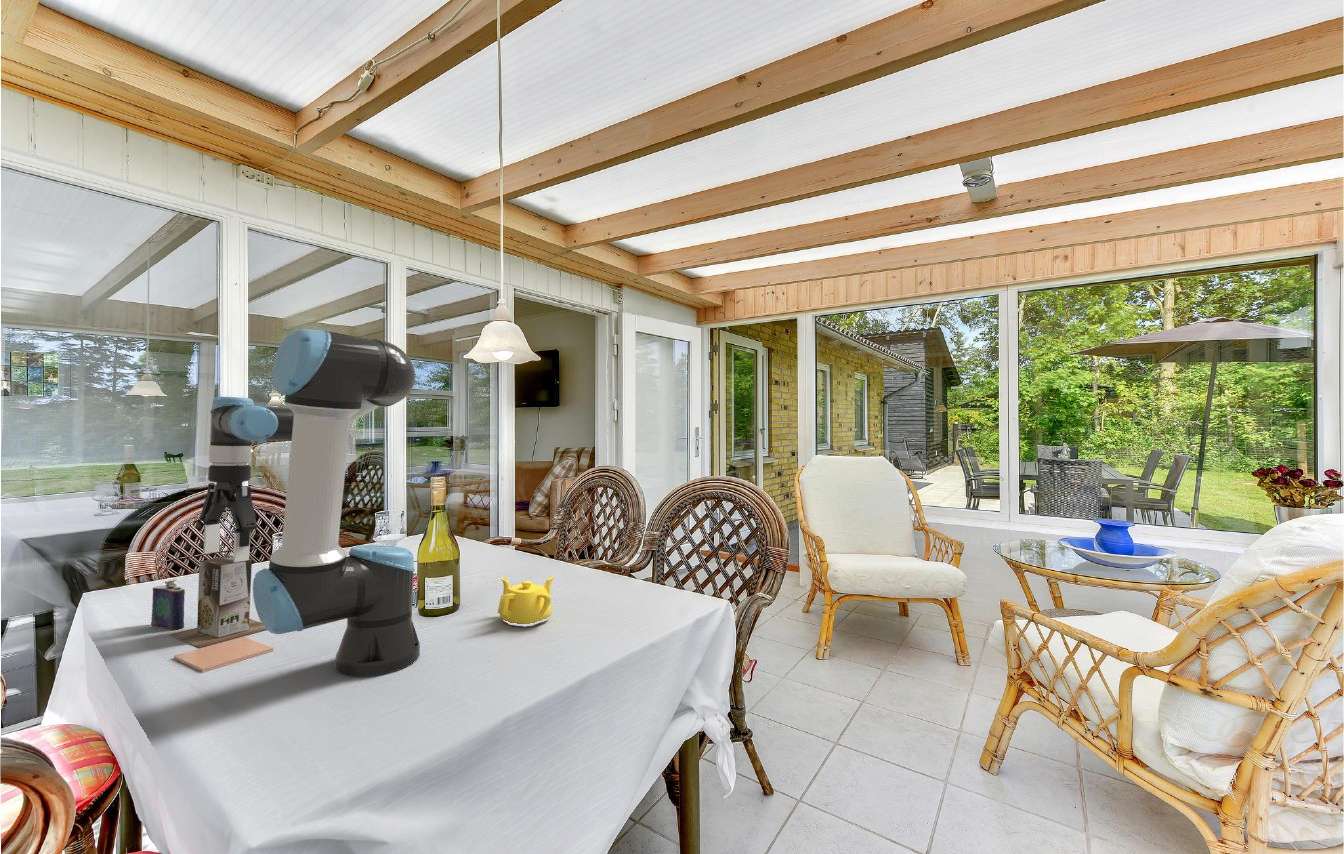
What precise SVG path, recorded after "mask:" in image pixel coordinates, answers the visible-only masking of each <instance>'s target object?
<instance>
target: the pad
mask: <svg viewBox="0 0 1344 854" xmlns="http://www.w3.org/2000/svg"><path fill="white" fill-rule="evenodd" d="M270 651H271V652H274V647H272V646H269V645H268V644H264V643H261V642H259V641H257V640H253V639H250V638H249V637H247V636H243V637H239V638H236V639H232V640H228V641H225V642H221V643H217V644H213V645H210V646H206V647H202V648H197V649H194V650H190V651H186V652H183V653H179V654H175V655H173V660H176V659H177V660H176V661H178V660H179V661H178V662H180V661H181V662H180V663H182V662H183V663H182V664H184V663H185V664H184V665H186V664H187V665H186V666H188V665H190V666H191V667H190V666H189V667H190V668H193V667H194V668H193V669H195V670H197V669H198V670H197V671H200V672H201V671H202V672H201V673H204V672H203V671H205V672H207V671H208V672H209V671H211V670H210V669H212V670H215V669H218V668H220V667H225V666H227V665H230V664H231V665H232V664H233V663H237V662H240V661H243V660H247V659H251V658H254V657H258V656H260V655H265V654H267V653H270Z"/></svg>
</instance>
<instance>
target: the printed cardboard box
mask: <svg viewBox="0 0 1344 854" xmlns="http://www.w3.org/2000/svg"><path fill="white" fill-rule="evenodd" d="M233 556H234V555H225V556H220V557H219V556H218V557H215V558H214V557H213V558H210V559H205V560H204V559H203V560H199V561H198V562H199V563H198V567H199V568H198V589H197V590H198V594H197V595H198V596H197V621H196V622H197V623H196V624H197V625H196V628H197V631H198V632H201V633H205V634H208V635H211V636H214V637H218V638H219V637H223V636H227V635H230V634H234V633H238V632H242V631H246V630H248V629H249V619H250V611H251V609H250V608H251V592H252V591H251V590H252V589H251V588H252V570H253V569H252V566H253V559H251V558H249V560H246V561H240V562H233Z"/></svg>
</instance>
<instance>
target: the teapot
mask: <svg viewBox="0 0 1344 854" xmlns="http://www.w3.org/2000/svg"><path fill="white" fill-rule="evenodd" d="M555 578H556V577H555V575H553V576H550V577H548V578H547V579H546V581H545V583H544V585H539V584H536V583H533V581H530V580H524V581H522V582H521V583H519V584H515V585H513V586H511V585H510V582H509V579H507V578H506V577H500V579H501V581H502V583H503V591H502V594H501V596H500V600H499V605H498V609H497V610H498V611H497V614H498V615H499V616H500V619H501V618H502V619H503V620H505V621H508V622H510V623H517V624H530V623H535V622H537V621H541V620H543V619H546V618H547V617H549V616H550V617H551V615H552V604H551V603H552V602H551V601H552V597H551V585H552V582H553V580H554V579H555ZM550 617H549V618H550ZM502 619H501V620H502ZM503 620H502V621H503Z"/></svg>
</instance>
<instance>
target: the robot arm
mask: <svg viewBox="0 0 1344 854" xmlns="http://www.w3.org/2000/svg"><path fill="white" fill-rule="evenodd" d="M271 378H272V385H273V388H274V390H275V392H277V393H279V394H280V395H282V396H284V402H283V403H284V405H285V406H286V407H278V406H277V407H276V406H262V405H255V402H254V400H253V398H250V397H242V396H241V397H239V396H237V397H235V396H215V397H214V398H213V399H212V403H211V404H212V405H211V409H210V436H209V438H210V440H209V441H210V442H209V446H208V447H209V448H208V449H209V450H208V462H209V463H211V464H210V465H209V466H208V476H207V480H208V482H209V483H208V484H207V493H206V495H205V496H206V497H205V499H204V502H203V506H202V509H201V513H200V516H199V521H200V522H202V523H203V525H204V536H203V537H204V538H203V554H205V555H207V554H212V553H219V552H220V542H221V539H220V538H221V524H222V523H223V522H222V520H221V518H222V516H223V514H224V512H225V510H226V508H227V509H228V510H229V512H230V514H231V517H232V520H233V522H234V525H235V529H234V531H233V533H234V541H233V555H232V556H233V562H240V561H246V560H249V559H250V550H251V549H250V548H251V547H250V546H251V532H252V531H253V530H257V529H258V523H257V519H256V514H255V509H254V505H253V504H254V503H253V499H252V488H251V486H244V485H243V483H244V482H248V481H250V480H251V476H252V475H251V474H252V473H251V472H252V470H251V469H252V466H251V465H250V464H249V463H251V462H252V454H253V453H254V450H253V449H252V446H253V441H254V442H260V441H291V443H290V455H289V465H288V473H287V474H288V475H287V476H288V477H287V485H286V486H287V487H286V497H285V507H284V517H283V528H282V537H281V538H282V539H281V546H280V547H279V548H278V549H277V550H275V551H274V552H272V553H271V555H270V557H269V566H268V567H267V568H266V567H265V568H262V569H261V570H258V571H257V572H256V573H255V575H254V578H253V579H252V580H253V583H252V597H253V601H254V602H253V603H254V607H255V611H256V613H257V616H258V619H259V622H261V623H262V624H263V626H264V627H265V628H266V629H267V630H266V631H268V633H271V634H273V635H282V634H283V635H284V634H288V633H293V632H303V630H307V629H312V628H314V627H318V626H322V625H327V624H331V623H335V622H339V621H341V620H343V621H344V620H346V619H347V620H346V628H345V632H344V633H343V637H341V638H342V639H341V641H340V644H339V647H338V650H337V652H336V654H335V659H334V668H335V671H336V672H337V673H339V674H341V675H344V676H348V677H373V676H378V675H379V676H380V675H384V674H388V673H389V674H390V673H392V672H396V671H399V670H403V669H404V667H405V668H406V667H408V665H409V666H411V665H412V664H414V663H415V662H416V661H417V660H418V659H419V658H418V657H420V651H421V649H420V648H421V645H420V644H421V643H420V640H419V637H418V635H417V634H418V633H417V631H416V627H415V624H414V622H413V619H412V618H413V596H414V595H413V593H414V591H413V590H414V572H415V562H414V554H413V552H412V551H411V550H410V549H407V548H405V547H401V546H396V545H395V546H393V545H383V544H382V545H381V544H367V545H366V544H363V545H356V546H352V547H351V548H350V550H349V551H348V556H347V551H346V550H345V549H344V548H343V547H341V545H340V544H339V541H340V539H339V538H340V529H341V528H340V527H341V517H342V507H343V499H344V498H343V497H344V488H345V487H344V486H345V477H346V467H347V457H348V448H349V447H348V446H349V445H348V444H349V438H350V426H351V423H353V422H354V421H356V420H358V419H361V417H364V416H366V415H367V414H369V413H370V412H372V411H375V410H376V409H378V408H379V407H380V408H386V407H387V408H389V407H391V406H393V405H394V406H395V404H397V403H399V402H401V401H402V400H404V399H405V398H406V397H407V396H408V395H409V394H410V393H411V391H412V390H413V388H414V385H415V382H416V370H415V367H414V364H413V362H412V360H411V359H410V357H409V356H408V354H407V353H406V352H404V351H403V350H402V349H401V348H400V347H398V346H397V345H395V344H393V343H391V342H388V341H385V340H381V339H376V338H375V339H373V338H368V337H361V336H356V335H352V334H351V335H350V334H346V333H340V332H334V331H327V330H324V329H311V328H298V329H294V330H292V331H291V332H290V333H288V334H287V335H286V336H285V337H284V338H283V340H282V341H281V343H280V344H279V347H278V349H277V351H276V353H275V357H274V360H273V363H272V371H271ZM414 661H415V662H414ZM413 662H414V663H413ZM411 663H412V664H411ZM410 664H411V665H410Z"/></svg>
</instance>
